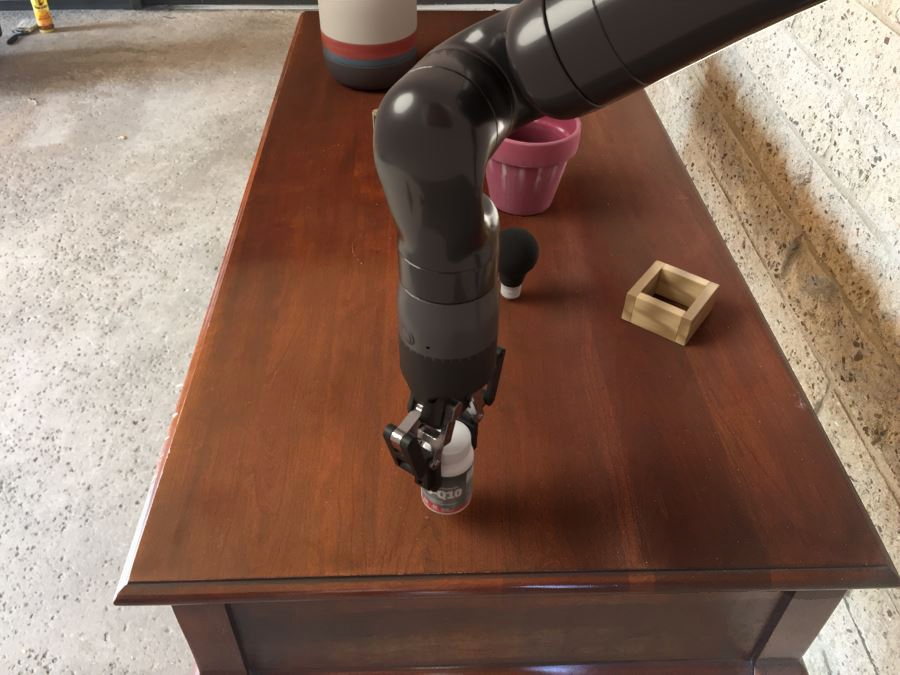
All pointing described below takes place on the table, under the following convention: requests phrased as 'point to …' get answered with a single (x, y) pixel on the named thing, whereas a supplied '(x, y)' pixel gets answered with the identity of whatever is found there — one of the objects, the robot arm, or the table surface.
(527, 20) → the robot arm
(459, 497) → the pill bottle
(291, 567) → the table surface
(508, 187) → the flower pot
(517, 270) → the light bulb
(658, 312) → the bottle socket
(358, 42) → the vase
